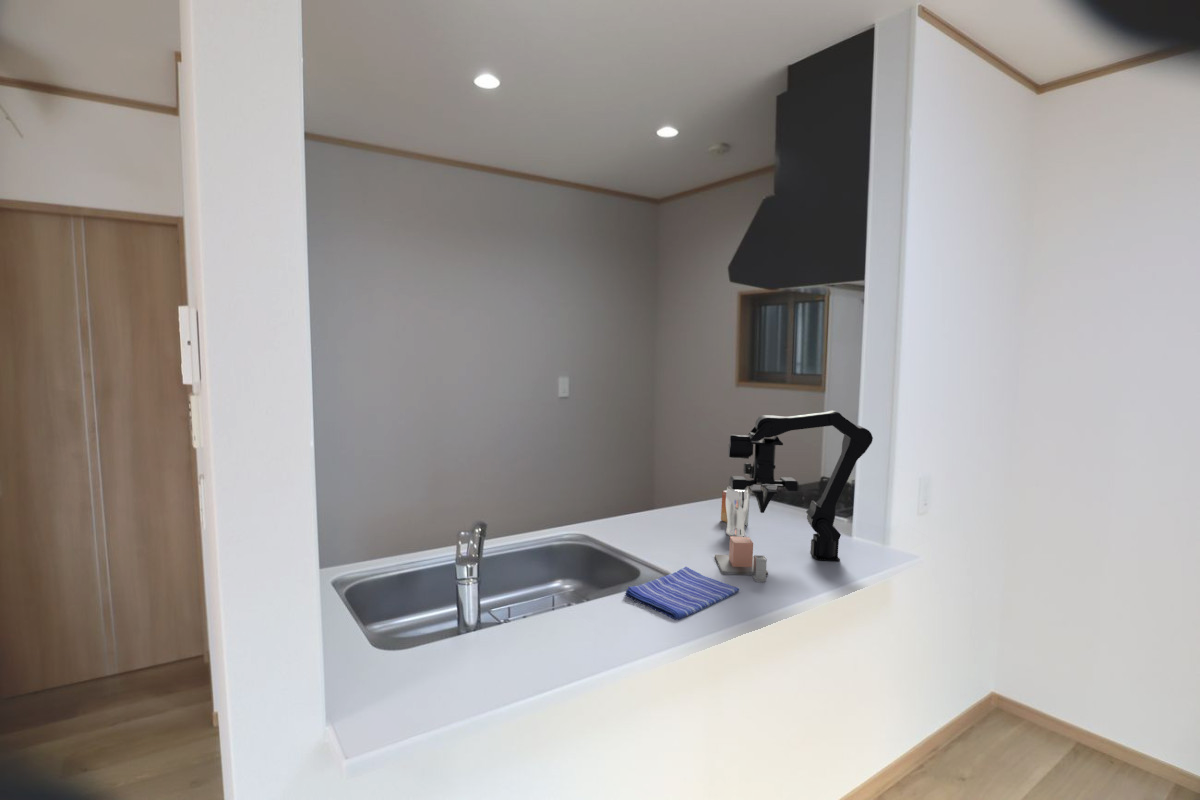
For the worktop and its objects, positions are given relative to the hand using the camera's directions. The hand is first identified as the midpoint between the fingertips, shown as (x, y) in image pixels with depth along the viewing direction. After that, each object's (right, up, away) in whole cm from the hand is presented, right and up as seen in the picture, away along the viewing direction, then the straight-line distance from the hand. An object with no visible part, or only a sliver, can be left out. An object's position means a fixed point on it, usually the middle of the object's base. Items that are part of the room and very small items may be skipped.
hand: (762, 512), depth 170 cm
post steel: (-6, -14, -19) cm, 24 cm away
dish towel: (-27, -15, -28) cm, 42 cm away
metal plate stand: (-9, -13, -10) cm, 18 cm away
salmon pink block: (-9, -12, -10) cm, 18 cm away
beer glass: (-4, -10, +17) cm, 20 cm away
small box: (-1, -9, +29) cm, 31 cm away
